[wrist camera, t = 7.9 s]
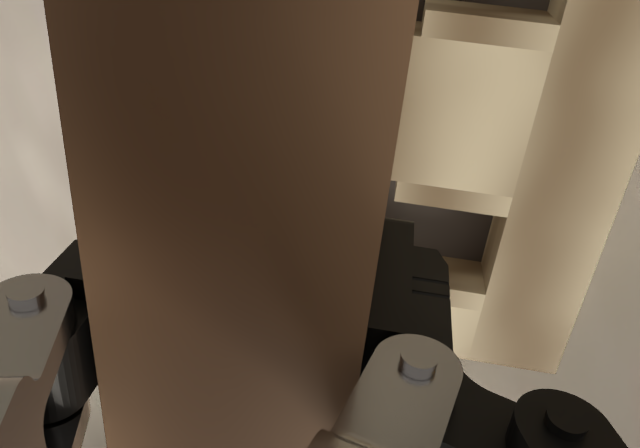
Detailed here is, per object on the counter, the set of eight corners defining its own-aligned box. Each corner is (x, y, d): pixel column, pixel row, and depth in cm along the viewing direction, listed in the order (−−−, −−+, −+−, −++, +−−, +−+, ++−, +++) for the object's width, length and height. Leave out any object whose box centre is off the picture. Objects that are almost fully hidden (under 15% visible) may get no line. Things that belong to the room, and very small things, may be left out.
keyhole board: (745, -232, 16) (793, -249, 14) (544, 333, 26) (555, 374, 24) (176, -276, 18) (142, -297, 16) (192, 277, 28) (172, 310, 26)
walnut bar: (436, -142, 10) (445, -162, 5) (349, 421, 18) (317, 646, 12) (211, -164, 11) (14, -200, 6) (215, 397, 18) (130, 606, 13)
